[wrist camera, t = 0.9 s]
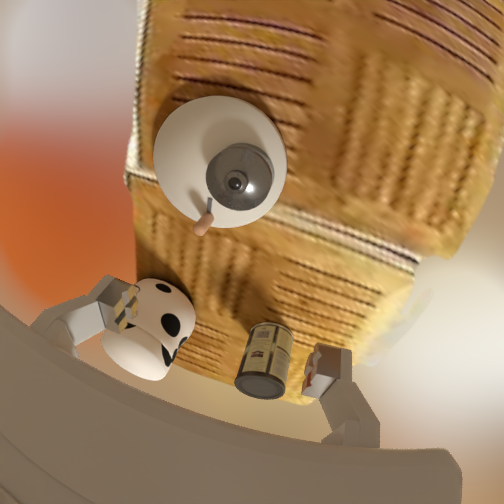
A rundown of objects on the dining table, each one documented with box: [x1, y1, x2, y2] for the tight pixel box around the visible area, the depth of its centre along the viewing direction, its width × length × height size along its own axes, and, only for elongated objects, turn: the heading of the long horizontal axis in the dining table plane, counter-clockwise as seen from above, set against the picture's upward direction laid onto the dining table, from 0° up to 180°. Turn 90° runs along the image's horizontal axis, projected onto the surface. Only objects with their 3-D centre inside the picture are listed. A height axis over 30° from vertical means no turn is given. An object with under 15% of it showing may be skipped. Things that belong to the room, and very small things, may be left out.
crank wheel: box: [153, 95, 288, 236], centre depth 40 cm, size 21×21×6 cm
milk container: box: [101, 278, 196, 380], centre depth 58 cm, size 17×17×18 cm
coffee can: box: [234, 322, 294, 400], centre depth 58 cm, size 10×10×14 cm
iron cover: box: [206, 143, 275, 211], centre depth 38 cm, size 9×9×5 cm
